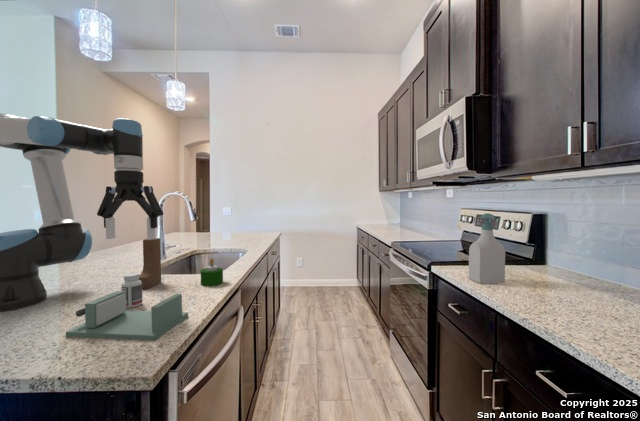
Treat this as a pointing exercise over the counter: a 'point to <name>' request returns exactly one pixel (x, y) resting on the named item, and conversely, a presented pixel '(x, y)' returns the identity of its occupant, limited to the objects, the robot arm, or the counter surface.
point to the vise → (137, 323)
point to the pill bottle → (132, 290)
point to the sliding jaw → (103, 309)
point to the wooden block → (151, 263)
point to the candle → (211, 275)
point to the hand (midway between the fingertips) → (131, 238)
